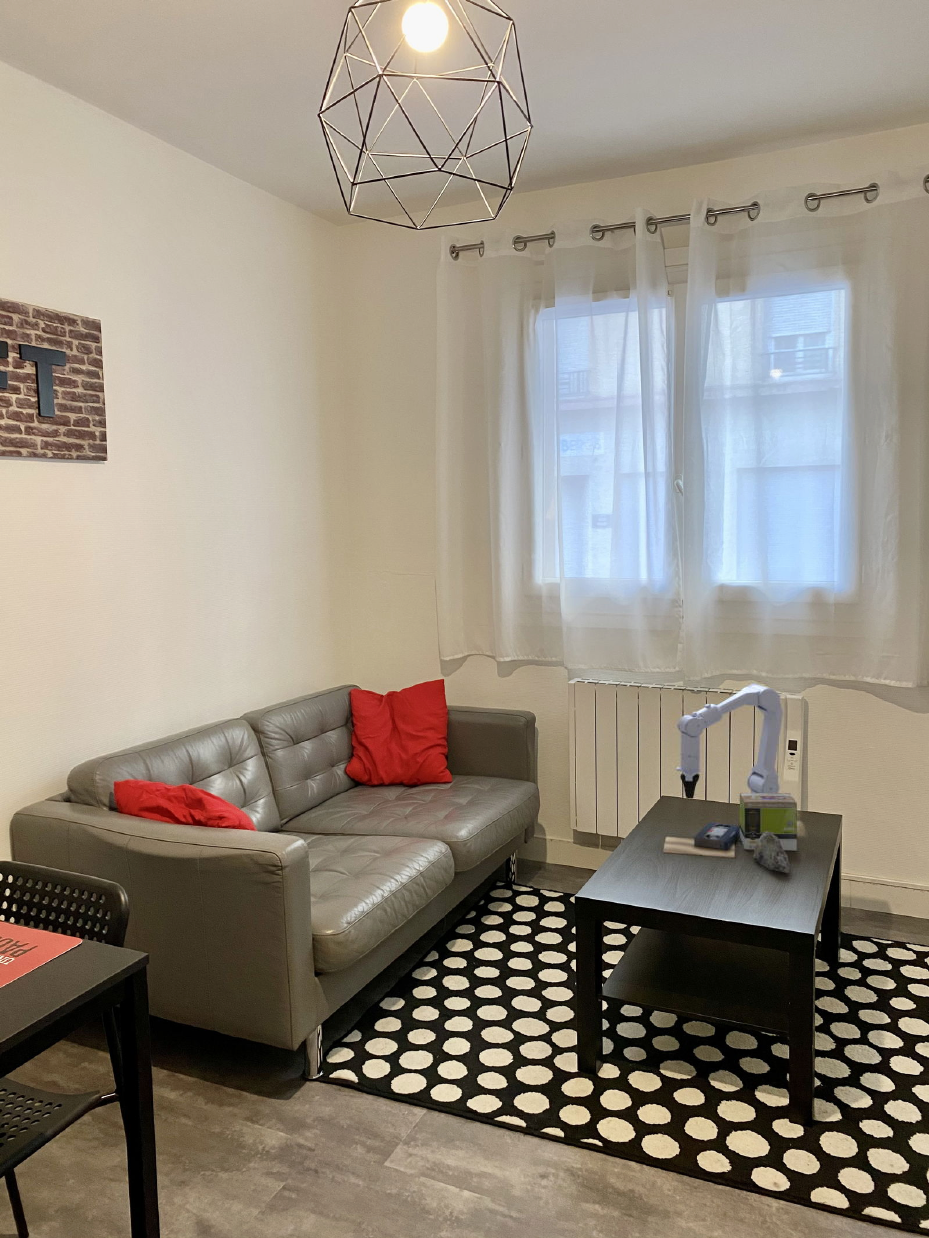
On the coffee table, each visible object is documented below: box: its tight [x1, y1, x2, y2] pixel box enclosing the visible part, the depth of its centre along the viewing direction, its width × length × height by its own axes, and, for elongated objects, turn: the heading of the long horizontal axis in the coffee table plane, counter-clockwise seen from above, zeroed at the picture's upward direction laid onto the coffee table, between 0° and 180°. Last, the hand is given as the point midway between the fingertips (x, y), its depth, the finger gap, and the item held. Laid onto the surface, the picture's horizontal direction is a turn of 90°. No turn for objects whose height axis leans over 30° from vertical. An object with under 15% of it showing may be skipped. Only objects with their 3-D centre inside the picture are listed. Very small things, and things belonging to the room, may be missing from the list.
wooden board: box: [662, 836, 736, 859], centre depth 287 cm, size 14×20×1 cm
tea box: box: [739, 792, 798, 851], centre depth 288 cm, size 15×10×15 cm, turn 82°
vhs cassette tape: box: [693, 821, 740, 850], centre depth 293 cm, size 18×3×10 cm
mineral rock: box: [752, 831, 791, 874], centre depth 269 cm, size 13×11×10 cm
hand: (689, 797), depth 302 cm, fingers closed
